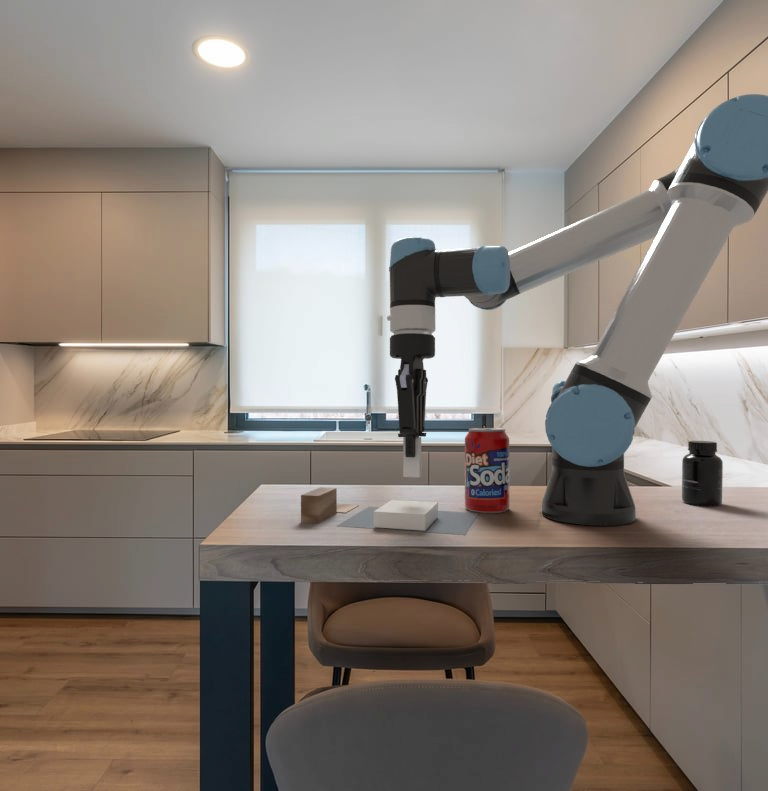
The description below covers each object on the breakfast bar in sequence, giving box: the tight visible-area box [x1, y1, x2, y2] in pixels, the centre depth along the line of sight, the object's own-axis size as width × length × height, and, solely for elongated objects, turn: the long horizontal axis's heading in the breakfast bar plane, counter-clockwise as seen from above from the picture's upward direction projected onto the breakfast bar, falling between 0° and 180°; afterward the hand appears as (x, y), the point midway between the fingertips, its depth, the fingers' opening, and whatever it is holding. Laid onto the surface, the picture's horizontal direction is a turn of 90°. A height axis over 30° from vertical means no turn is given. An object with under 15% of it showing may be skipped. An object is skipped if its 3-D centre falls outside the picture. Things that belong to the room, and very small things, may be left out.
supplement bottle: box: [681, 440, 724, 507], centre depth 109 cm, size 7×7×12 cm
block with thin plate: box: [300, 487, 360, 524], centre depth 97 cm, size 6×16×5 cm, turn 163°
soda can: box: [464, 427, 510, 514], centre depth 100 cm, size 8×8×15 cm
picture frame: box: [374, 499, 439, 531], centre depth 89 cm, size 8×3×10 cm
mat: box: [336, 506, 480, 536], centre depth 92 cm, size 20×16×1 cm
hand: (412, 476), depth 93 cm, fingers closed
